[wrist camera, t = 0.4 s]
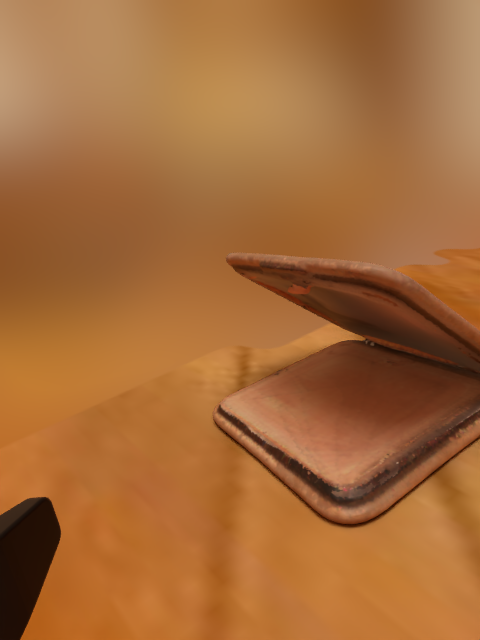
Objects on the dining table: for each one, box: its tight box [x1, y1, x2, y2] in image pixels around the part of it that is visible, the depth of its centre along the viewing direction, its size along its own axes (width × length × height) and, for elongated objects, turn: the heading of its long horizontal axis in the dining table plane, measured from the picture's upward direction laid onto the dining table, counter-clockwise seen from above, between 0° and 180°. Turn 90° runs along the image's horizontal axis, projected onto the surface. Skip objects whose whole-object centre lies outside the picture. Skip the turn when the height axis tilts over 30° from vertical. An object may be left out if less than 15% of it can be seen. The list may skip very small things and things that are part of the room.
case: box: [213, 253, 480, 524], centre depth 36 cm, size 20×21×16 cm
